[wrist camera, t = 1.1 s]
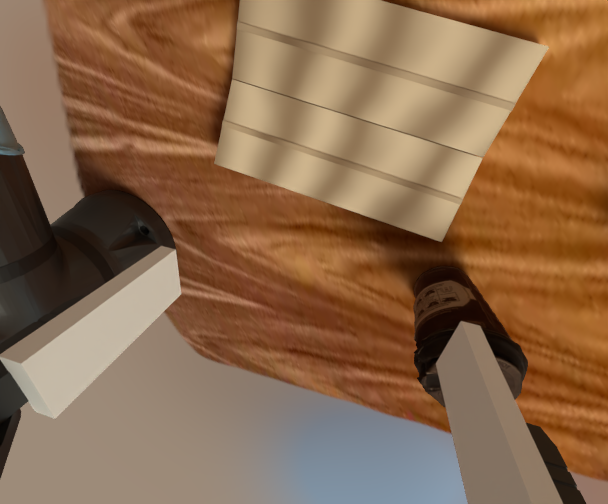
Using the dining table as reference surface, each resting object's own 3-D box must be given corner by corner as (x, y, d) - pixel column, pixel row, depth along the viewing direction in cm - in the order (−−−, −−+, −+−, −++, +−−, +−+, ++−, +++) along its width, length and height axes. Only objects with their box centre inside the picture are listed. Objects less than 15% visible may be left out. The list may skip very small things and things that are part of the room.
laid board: (238, 79, 27) (231, 78, 26) (249, -32, 23) (243, -38, 21) (478, 155, 25) (483, 157, 24) (540, 49, 21) (549, 46, 19)
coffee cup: (387, 290, 34) (390, 381, 23) (435, 242, 30) (468, 326, 18) (444, 326, 34) (474, 433, 23) (500, 284, 30) (570, 391, 19)
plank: (219, 164, 29) (213, 163, 28) (237, 83, 27) (231, 78, 26) (437, 239, 27) (441, 242, 26) (476, 159, 25) (483, 158, 24)
